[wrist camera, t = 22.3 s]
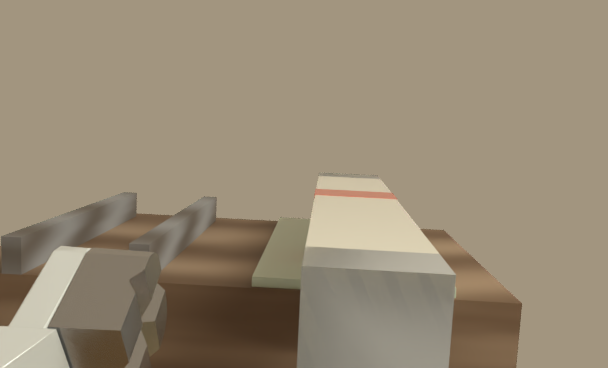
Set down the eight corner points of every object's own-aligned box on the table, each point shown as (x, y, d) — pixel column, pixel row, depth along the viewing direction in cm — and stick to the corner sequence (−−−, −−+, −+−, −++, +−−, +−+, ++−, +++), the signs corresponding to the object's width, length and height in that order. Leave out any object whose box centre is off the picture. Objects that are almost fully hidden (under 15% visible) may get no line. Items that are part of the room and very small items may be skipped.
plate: (455, 298, 23) (456, 288, 23) (251, 286, 23) (251, 276, 23) (406, 230, 37) (406, 224, 37) (279, 223, 37) (280, 217, 37)
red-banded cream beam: (446, 401, 13) (457, 273, 13) (294, 390, 14) (300, 264, 13) (374, 224, 35) (378, 175, 35) (316, 221, 35) (319, 172, 35)
